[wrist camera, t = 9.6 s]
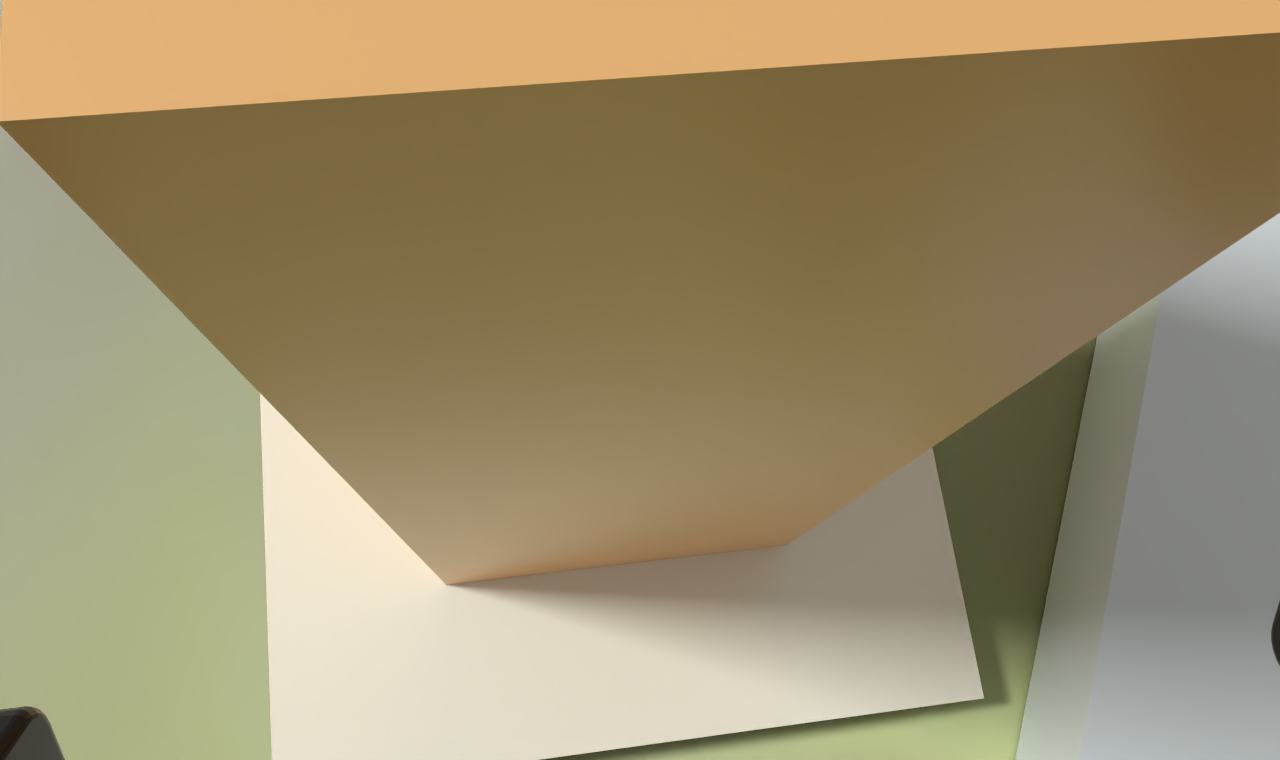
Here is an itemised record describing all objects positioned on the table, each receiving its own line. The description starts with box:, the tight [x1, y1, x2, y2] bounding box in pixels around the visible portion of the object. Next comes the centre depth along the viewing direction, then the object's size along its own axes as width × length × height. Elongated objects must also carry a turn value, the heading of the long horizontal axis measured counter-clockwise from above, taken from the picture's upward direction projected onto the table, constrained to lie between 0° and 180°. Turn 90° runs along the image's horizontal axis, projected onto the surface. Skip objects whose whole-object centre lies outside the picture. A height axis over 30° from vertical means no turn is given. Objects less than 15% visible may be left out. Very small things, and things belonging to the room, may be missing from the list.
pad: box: [260, 393, 984, 760], centre depth 17 cm, size 10×10×1 cm
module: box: [0, 0, 1280, 585], centre depth 10 cm, size 5×5×13 cm
